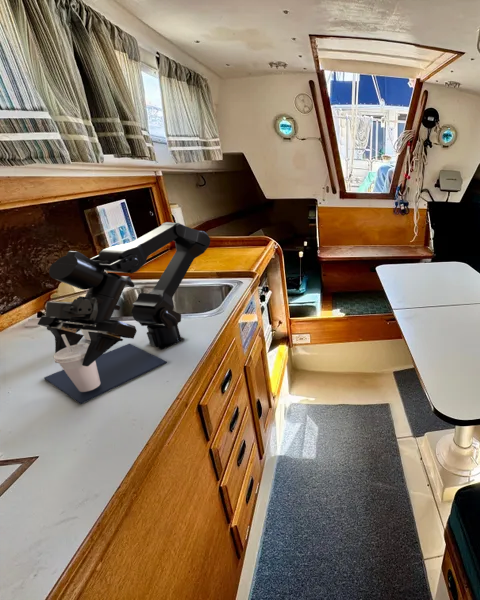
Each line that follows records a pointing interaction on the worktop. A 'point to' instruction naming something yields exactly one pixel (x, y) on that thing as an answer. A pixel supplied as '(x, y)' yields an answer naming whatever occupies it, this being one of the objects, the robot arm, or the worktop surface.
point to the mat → (110, 372)
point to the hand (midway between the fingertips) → (71, 364)
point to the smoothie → (78, 366)
